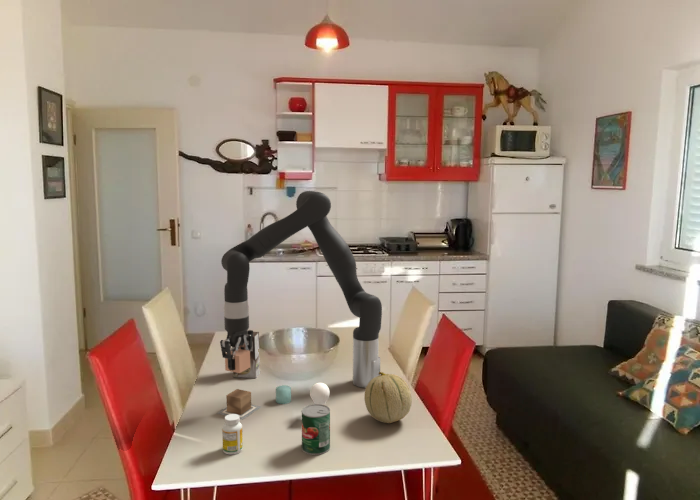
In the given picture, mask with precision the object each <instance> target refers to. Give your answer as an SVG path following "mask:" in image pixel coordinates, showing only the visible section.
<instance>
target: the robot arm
mask: <svg viewBox="0 0 700 500" xmlns="http://www.w3.org/2000/svg"><path fill="white" fill-rule="evenodd" d="M331 204H332V202H331V199H330V198H329V196H328V195H326V193H323V192H320V191H315V190H314V191H313V190H305V191H302V192H300V194H298V196H297V198H296V203H295V205H296V209H295V210H294V211H293V212H292V213H290V214H289V215H287V216H285V217H283V218H281V219H279V220H276V221H275V222H273V223H270V224H268V225H266V226H265V227H264V228H262V229H260V230H259V231H258V232H256V233H255V234H253V235H252V236H250V237H249V238H248V239H246V240H245V241H243V242H241V243H239V244H236V245H235V246H233V247H231V248H230V249H228V250H227V251H226V252H225V253H224V254H223V256H222V258H221V261H220V262H221V266H222V268H223V269H224V270H225V271H226V283H225V285H224V288H223V289H224V291H223V293H224V307H223V315H224V316H223V318H224V319H223V320H224V323H223V324H224V330H225V331H226V332H227V333H226V334H227V335H226V338H225V339H221V340H220V341H219V343H220V345H219V346H220V350H221V356H222V358H223V359H225V358H227V359H228V369H229V370H235V359H234V358H235V355H236V352H237V351H238V347H239V348H240V349H242V350H248V351H249V349H251V348H252V340H253V332H254V330H251V329H249V328H250V307H249V300H248V299H249V297H248V296H249V295H248V283H249V277H250V262H251V261H254V260H255V259H259V258H262V257H263V256H266V255H267V254H268V253H269V252H271V251H273V250H274V249H275V248H277V247H278V246H279V245H281V244H282V243H283V242H284V241H286V240H287V239H289V238H290V237H292V236H294V235H295V234H297V233H299V232H300V231H302V230H303V229H305V228H308V229H309V231H310V232H311V235H313V238H314V240H315V241H316V244H317V246H318V248H319V250H320V252H321V253H322V255H323V258H324V260H325V263H326V264H327V265H328V268H329V269H330V271H331V273H332V274H333V275H332V276H334V279H335V280H336V282H337V284H338V286H339V287H340V289H341V291H342V294H343V296H344V299H345V301H346V304H347V306H348V309H349V311H350V312H351V313H352V315H353V316H354V317H357V318H359V323H358V324H359V326H358V327H355V328H354V329H353V331H352V384H353V385H354V386H356V387H358V388H365V389H366V386H367V385H368V383H369V382H370V381H371V380H372V379H373V378H375V377H377V376H379V375H381V374H379V372H381V356H379V341H380V339H379V335H380V332H381V329H382V315H383V308H382V301H381V299H380V298H379V297H378V296H376V295H374V294H370V293H368V292H367V291H365V289H364V288H363V286H362V284H361V282H360V281H359V279H358V274H357V262H356V258H355V256H354V255H353V252H352V251H351V249H350V247H349V245H348V243H347V242H346V240H345V239H344V237H343V236H341V234H340V233H339V232H338V230H336V229H335V228H334V226H333V225H332V224H331V222H330V220H329V219H328V215H329V213H330V211H331V207H332V205H331ZM247 341H249V345H248V342H247ZM232 347H235V348H234V349H233V348H232ZM231 351H233V352H232V355H231ZM226 353H227V354H226Z"/></svg>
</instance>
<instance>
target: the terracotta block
mask: <svg viewBox="0 0 700 500" xmlns="http://www.w3.org/2000/svg"><path fill="white" fill-rule="evenodd" d="M232 352H233V351H231V355H232ZM226 354H227V352H226ZM234 359H235V370H229V369H228V359H227V358H224V364H225V365H224V367H225V368H224V369H225V371H226V372H231V373H233V372H236V373H241V372H243V371H245V370H247V369H248V368H250V351H248V350H242V349H238V351H237V352H236V355H235V358H234Z"/></svg>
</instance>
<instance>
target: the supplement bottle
mask: <svg viewBox="0 0 700 500" xmlns="http://www.w3.org/2000/svg"><path fill="white" fill-rule="evenodd" d="M240 421H241V419H240V417H239V415H237V414H229V415H227V416H225V415H224V423H223V425H222V427H221V428H222V429H221V431H222V451H223V453H224V454H227V455H228V456H229V455H238V454H239V453H241V451H242V449H244V448H243V447H244V446H243V443H244V442H243V424H242V423H241V422H240Z"/></svg>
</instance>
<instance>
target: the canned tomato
mask: <svg viewBox="0 0 700 500" xmlns="http://www.w3.org/2000/svg"><path fill="white" fill-rule="evenodd" d="M300 412H301V451H302V452H304V453H305V454H307V455H311V456H313V455H314V456H317V455H318V456H320V455H323V454H325V453H327V452H328V451H330V448H331V409H330V407H329V406H327V405H326V404H325V405H321V404H314V403H313V404H308V405H306V406H303V408H302V409H301V411H300Z"/></svg>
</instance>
